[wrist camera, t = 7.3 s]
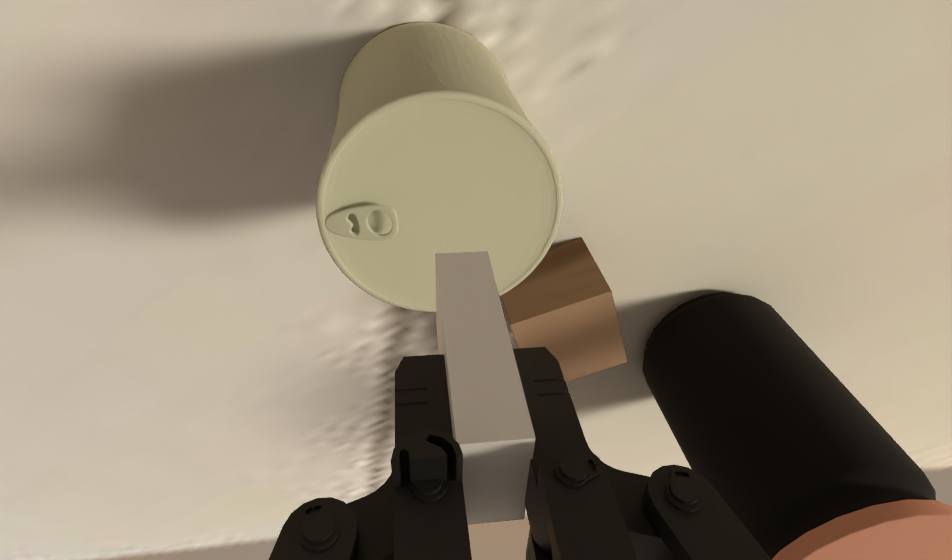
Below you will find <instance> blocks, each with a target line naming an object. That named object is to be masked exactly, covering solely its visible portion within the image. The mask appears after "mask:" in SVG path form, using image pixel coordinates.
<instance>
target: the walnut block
mask: <svg viewBox="0 0 952 560" xmlns="http://www.w3.org/2000/svg"><path fill="white" fill-rule="evenodd" d="M502 299H503V302H504V306H505V310H506V313H507V317H508V320H509V324H510V327H511V329H512V332H513V335H514V337H515V340H516V342H517V345H518V347H519V348H533V347H546V348H547V349H548V350H549V352H550V353H551V354H552V355H553V356H554V357H555V358H556V359H557V360H558V362H559V365H560V368H561V371H562V373H563V376H564V380H565V382H568V381H571V380H574V379H577V378H580V377H583V376H586V375H589V374H593V373H596V372H599V371H602V370H605V369H608V368H611V367H614V366H617V365H620V364H623V363H627V359H626V354H625V350H624V345H623V341H622V336H621V332H620V327H619V323H618V318H617V314H616V309H615V305H614V300H613V296H612V291H611V289H610V288H609V286H608V284H607V282H606V280H605V279H604V277H603V275H602V273H601V271H600V270H599V268H598V266H597V264H596V262H595V261H594V259H593V257H592V255H591V253H590V252H589V250H588V248H587V246H586V244H585V243H584V241H583V239H582V237H580V238H577V239H574V240H571V241H568V242H565V243H563V244H560V245H557V246H554V247H551V248H549V250H548V251H547V253H546V255H545V256H544V258H543V259H542V260H541V262H540V263H539V264H538V265H537V267H536V268H535V269H534V270H533V271H532V272H531V273H530V274H529V275H528V276H527V277H526V278H525V279H524V280H523V281H522V282H520V283H519V284H518V285H517V286H515V287H514V288H512V289H511V290H509V291H508V292H506V293H504V294H503V295H502Z"/></svg>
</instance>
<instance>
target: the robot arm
mask: <svg viewBox="0 0 952 560" xmlns="http://www.w3.org/2000/svg"><path fill="white" fill-rule="evenodd" d="M435 271H436V328H437V338H438V348H439V355H425V356H408V357H403V359H402V361H401V362H400V364H399V366H398V368H397V370H396V372H395V448H394V450H393V454H392V458H391V468H392V473H391V475H390V477H389V478H388V479H387V481H386V482H385V483H384V484H383V485H382V486H381V487H380V488H379V489H377V490H376V491H375V492H373V493H371V494H369V495H367V496H365V497H363V498H360V499H358V500H355V501H353V502H350V503H348V504H346V503H345V502H343V501H340V500H337V499H334V498H317V499H314V500H312V501H309V502H307V503H304V504H302V505H301V506H300V507H299V508H297V509H296V510H295V511H294V512H293V513H291V515H290V516H289V518H288V519H287V521H286V522H285V524H284V526H283V528H282V530H281V532H280V535H279V537H278V539H277V542H276V544H275V546H274V549H273V551H272V553H271V556H270V558H269V560H472V558H471V550H470V541H469V534H468V525H469V524H479V523H489V522H499V521H509V520H519V519H524V516H525V509H526V510H527V515H528V520H529V524H530V531H529V537H528V544H527V550H526V560H772V559H771V558H770V556H769V555H768V554H767V553H766V552H765V550H764V549H763V548H762V547H761V545H760V544H759V543H758V542H757V540H756V539H755V538H754V537H753V535H752V534H751V533H750V532H749V530H748V529H747V528H746V527H745V526H744V524H743V523H742V522H741V521H740V519H739V518H738V517H737V516H736V514H735V513H734V512H733V511H732V509H731V508H730V507H729V506H728V505H727V503H726V502H725V501H724V500H723V498H722V497H721V496H720V495H719V493H718V492H717V491H716V490H715V488H714V487H713V486H712V485H711V484H710V483H709V482H708V481H707V480H706V479H705V478H704V477H703V476H702V475H701V474H699V473H697V472H695V471H693V470H691V469H689V468H687V467H683V466H678V465H668V466H662V467H660V468H659V469H657V470H655V471H654V472H653V473H652V475H651V477H648V476H643V475H638V474H634V473H629V472H624V471H621V470H617V469H614V468H612V467H610V466H608V465H606V464H605V463H603V462H602V461H601V460H600V459H599V458H598V457H597V456H596V455H595V454H593V452H592V451H591V450H590V448H589V446H588V444H587V442H586V440H585V437H584V434H583V431H582V428H581V426H580V423H579V420H578V417H577V414H576V411H575V408H574V405H573V402H572V399H571V397H570V394H569V393H568V388H567V385H566V382H565V380H564V376H563V373H562V371H561V368H560V365H559V362H558V360H557V359H556V358H555V357H554V356H553V355H552V354H551V353H550V352H549V350H548V349H547V348H546V347H533V348H517V349H513V348H512V344H511V340H510V336H509V333H508V329H507V325H506V321H505V317H504V313H503V309H502V305H501V301H500V297H499V294H498V290H497V286H496V282H495V278H494V274H493V270H492V266H491V262H490V258H489V254H488V251H483V252H459V253H435Z"/></svg>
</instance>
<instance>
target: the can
mask: <svg viewBox="0 0 952 560" xmlns="http://www.w3.org/2000/svg"><path fill="white" fill-rule="evenodd" d="M338 112H339V113H338V118H337V122H336V126H335V130H334V134H333V138H332V142H331V146H330V150H329V154H328V157H327V159H326V161H325V163H324V165H323V168H322V171H321V174H320V177H319V181H318V186H317V192H316V215H317V221H318V227H319V230H320V234H321V237H322V240H323V243H324V245H325V247H326V249H327V251H328V253H329V254H330V256H331V258H332V259H333V261H334V262H335V263H336V265H337V266H338V267H339V269H340V270H341V271H342V272H343V273H344V274H345V276H346V277H347V278H349V279H350V280H351V281H352V282H353V283H354V284H355V285H357V286H358V287H359V288H361V289H362V290H364V291H365V292H367V293H368V294H370V295H372V296H373V297H375V298H377V299H380V300H382V301H384V302H386V303H389V304H392V305H395V306H398V307H402V308H405V309H411V310H417V311H425V312H436V271H435V253H459V252H483V251H488V254H489V258H490V262H491V266H492V270H493V274H494V278H495V282H496V286H497V290H498V294H499V296H501V295H503V294H504V293H506V292H508V291H509V290H511V289H512V288H514V287H515V286H517V285H518V284H519V283H520V282H522V281H523V280H524V279H525V278H526V277H527V276H528V275H529V274H530V273H531V272H532V271H533V270H534V269H535V268H536V267H537V265H538V264H539V263H540V262H541V260H542V259H543V258H544V256H545V255H546V253H547V251H548V250H549V248H550V246H551V244H552V242H553V240H554V238H555V235H556V233H557V230H558V226H559V223H560V218H561V213H562V204H563V194H562V183H561V177H560V173H559V170H558V166H557V164H556V161H555V158H554V156H553V154H552V152H551V150H550V148H549V147H548V145H547V143H546V142H545V140H544V139H543V138H542V136H541V135H540V134H539V133H538V131H537V130H536V129H535V128H534V127H533V126H532V125H531V123H530V121H529V120H528V118H527V117H526V115H525V114H524V112H523V111H522V109H521V107H520V106H519V104H518V102H517V101H516V99H515V98H514V96H513V94H512V93H511V91H510V89H509V87H508V83H507V80H506V78H505V75H504V73H503V71H502V69H501V67H500V65H499V64H498V62H497V60H496V59H495V58H494V56H493V55H492V54H491V53H490V51H489V50H488V49H487V48H486V47H485V46H484V45H483V44H482V43H480V42H479V41H478V40H477V39H475V38H474V37H472V36H471V35H469V34H467V33H465V32H464V31H462V30H460V29H457V28H455V27H452V26H449V25H445V24H441V23H435V22H413V23H407V24H402V25H399V26H396V27H393V28H390V29H388V30H386V31H384V32H382V33H381V34H379V35H377V36H376V37H374V38H373V39H371V40H370V41H369V42H368V43H367V44H366V45H364V46H363V47H362V49H361V50H360V51H359V52H358V53H357V54H356V56H355V57H354V58H353V60H352V61H351V63H350V65H349V66H348V68H347V70H346V73H345V75H344V77H343V80H342V84H341V88H340V93H339V102H338Z"/></svg>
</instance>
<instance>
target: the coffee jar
mask: <svg viewBox="0 0 952 560" xmlns="http://www.w3.org/2000/svg"><path fill="white" fill-rule="evenodd" d="M643 373H644V376H645V378H646V381H647V384H648V386H649V388H650V390H651V392H652V394H653V396H654V398H655V399H656V401H657V403H658V405H659V407H660V409H661V411H662V413H663V415H664V417H665V419H666V421H667V423H668V424H669V426H670V428H671V430H672V432H673V434H674V436H675V438H676V440H677V442H678V444H679V446H680V447H681V449H682V451H683V453H684V455H685V457H686V459H687V461H688V463H689V465H690V467H691V469H692V470H693V471H695V472H697V473H699V474H701V475H702V476H703V477H704V478H705V479H706V480H707V481H708V482H709V483H710V484H711V485H712V486H713V487H714V488H715V490H716V491H717V492H718V493H719V495H720V496H721V497H722V498H723V500H724V501H725V502H726V503H727V505H728V506H729V507H730V508H731V509H732V511H733V512H734V513H735V514H736V516H737V517H738V518H739V519H740V521H741V522H742V523H743V524H744V526H745V527H746V528H747V529H748V530H749V532H750V533H751V534H752V535H753V537H754V538H755V539H756V540H757V542H758V543H759V544H760V545H761V547H762V548H763V549H764V550H765V552H766V553H767V554H768V555H769V556H770V558H771V559H772V560H952V506H950V505H947V504H944V503H941V502H938V501H936V499H935V490H934V488H933V486H932V485H931V483H930V482H929V480H928V478H927V477H926V475H925V474H924V472H923V471H922V470H921V469H920V468H919V467H918V466H917V464H916V463H915V462H914V461H913V460H912V459H911V458H910V457H909V456H908V455H907V454H906V452H905V451H904V450H903V449H902V448H901V447H900V446H899V445H898V444H897V443H896V442H895V440H894V439H893V438H892V437H891V436H890V435H889V434H888V433H887V432H886V431H885V430H884V429H883V427H882V426H881V425H880V424H879V423H878V422H877V421H876V420H875V419H874V418H873V417H872V415H871V414H870V413H869V412H868V411H867V410H866V409H865V408H864V407H863V406H862V405H861V403H860V402H859V401H858V400H857V399H856V398H855V397H854V396H853V395H852V394H851V393H850V391H849V390H848V389H847V388H846V387H845V386H844V385H843V384H842V383H841V382H840V381H839V379H838V378H837V377H836V376H835V375H834V374H833V373H832V372H831V371H830V370H829V369H828V367H827V366H826V365H825V364H824V363H823V362H822V361H821V360H820V359H819V358H818V357H817V356H816V354H815V353H814V352H813V351H812V350H811V349H810V348H809V347H808V346H807V345H806V344H805V342H804V341H803V340H802V339H801V338H800V337H799V336H798V335H797V334H796V333H795V332H794V330H793V329H792V328H791V327H790V326H789V325H788V324H787V323H786V322H785V321H784V320H783V318H782V317H781V316H780V315H779V314H778V313H777V312H776V311H775V310H774V309H773V308H772V306H771V305H769V304H767V303H765V302H763V301H761V300H759V299H757V298H755V297H752V296H748V295H741V294H733V293H724V292H723V293H716V294H710V295H704V296H701V297H699V298H696V299H694V300H691V301H689V302H686V303H684V304H682V305H681V306H680V307H678V308H677V309H675V310H674V311H672V312H671V313H669V314H668V315H667V316H666V317H665V318H664V319H663V320H662V321H661V322H660V323H659V324H658V325H657V326H656V327H655V329H654V330H653V332H652V334H651V336H650V338H649V340H648V342H647V345H646V349H645V352H644V361H643Z"/></svg>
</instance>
